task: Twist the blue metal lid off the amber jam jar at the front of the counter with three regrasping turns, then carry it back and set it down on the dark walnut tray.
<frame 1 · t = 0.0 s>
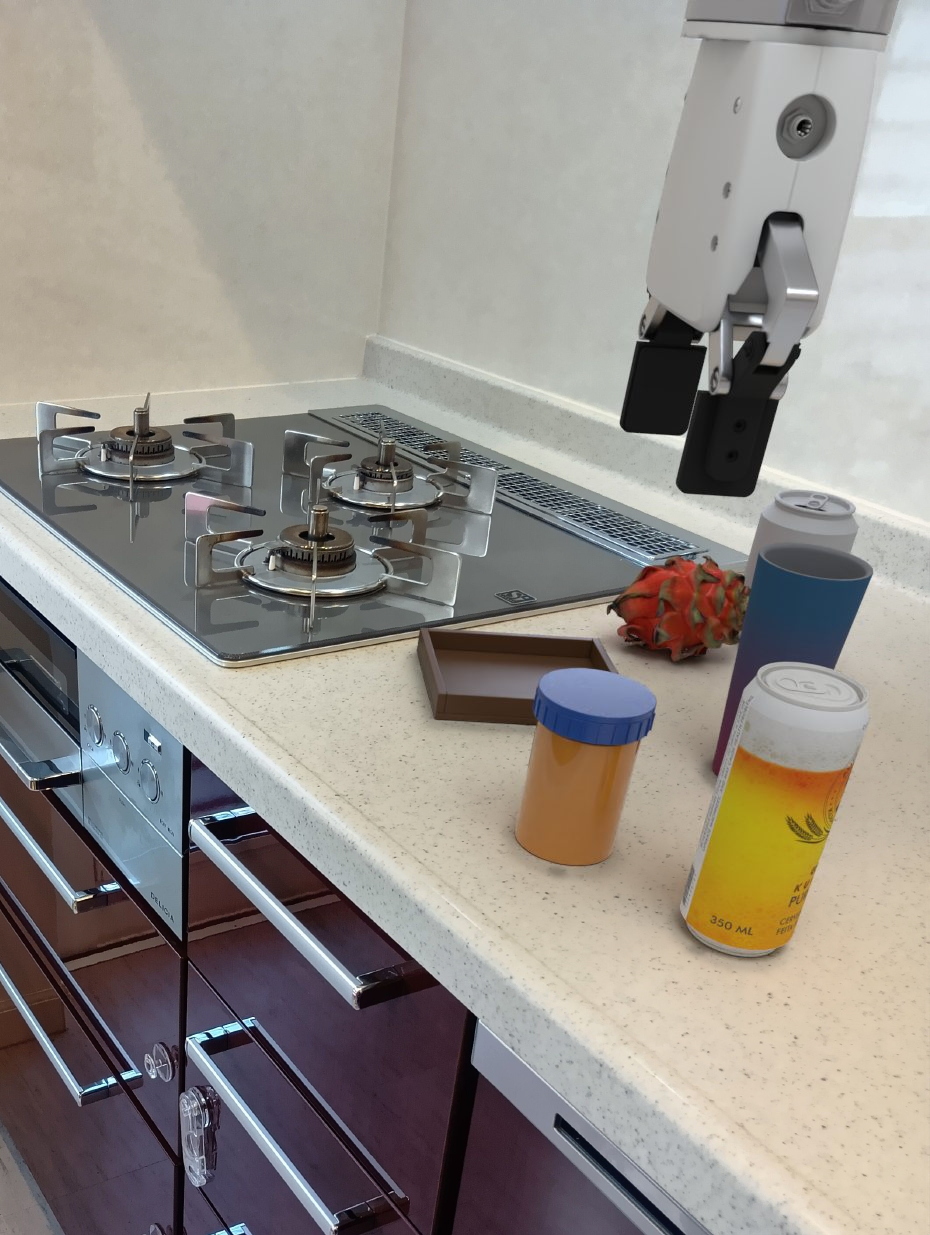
hand: (680, 461, 58), 25 cm above the worktop, tool pointing down, fingers open, 9 cm apart
jar: (563, 839, 80), on the worktop
dragon fruit: (668, 654, 106), on the worktop
can: (772, 642, 110), on the worktop
cup: (748, 776, 89), on the worktop
beer can: (731, 933, 73), on the worktop
lid: (595, 698, 75), point 9 cm above the worktop, screwed on, not yet turned
tray: (518, 688, 98), on the worktop
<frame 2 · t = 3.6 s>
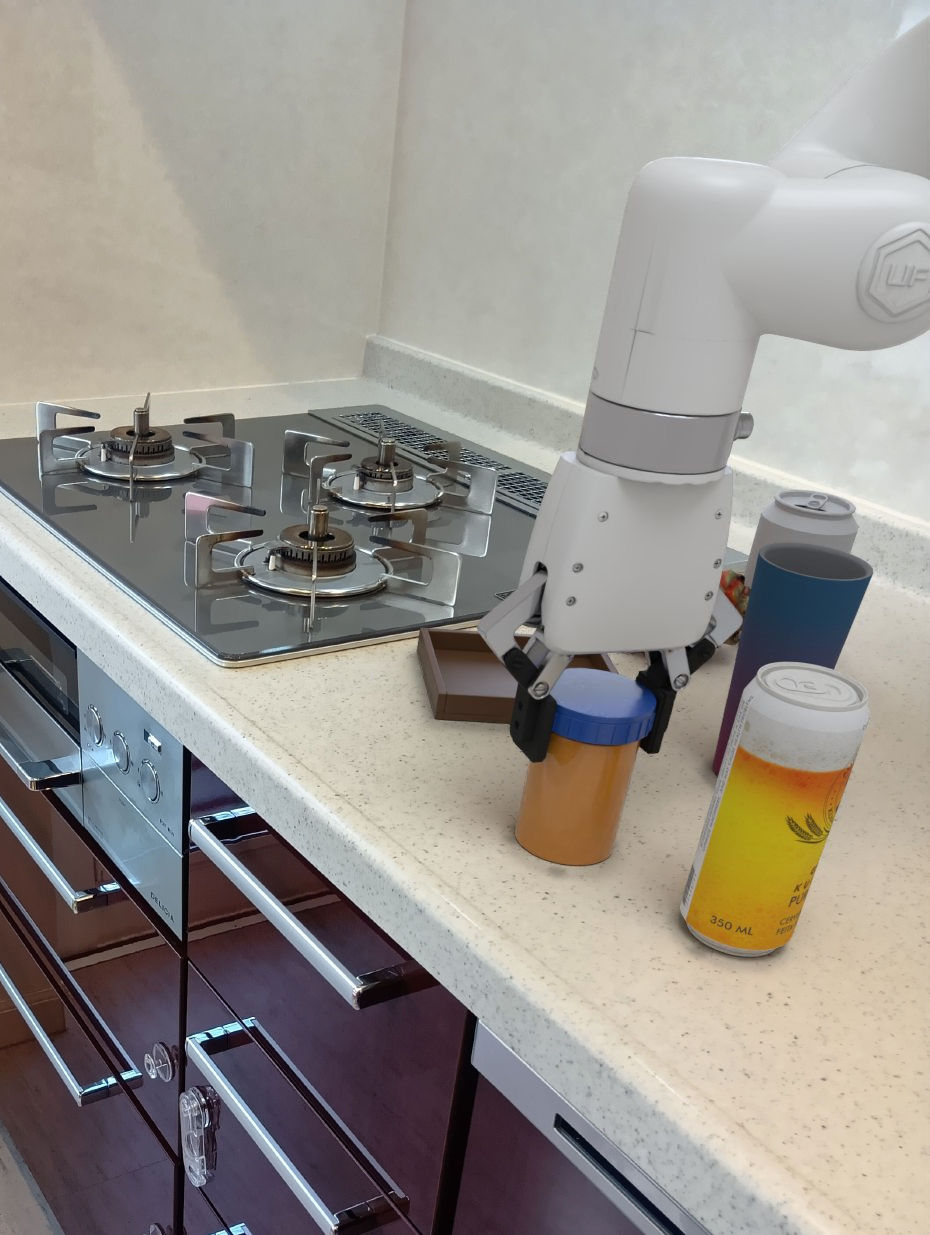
hand: (584, 745, 76), 6 cm above the worktop, tool pointing down, fingers closed on lid, 6 cm apart
lid: (595, 698, 75), point 9 cm above the worktop, screwed on, not yet turned, touching gripper
everything else where it was.
when the fingers open (6 cm above the worktop, at t = 5.7 s): lid stays where it is, point 10 cm above the worktop.
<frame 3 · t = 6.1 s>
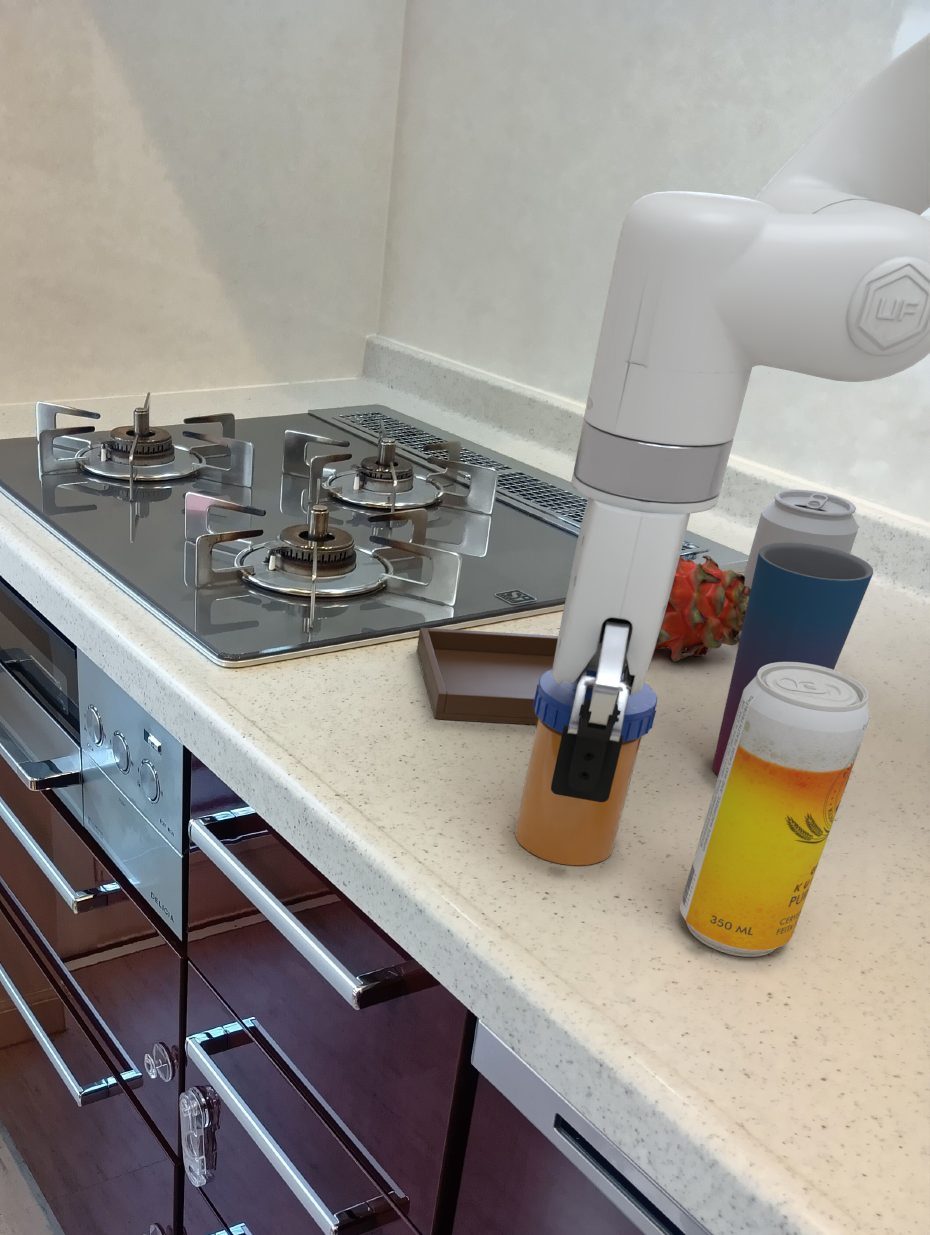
hand: (583, 757, 77), 6 cm above the worktop, tool pointing down, fingers open, 9 cm apart
lid: (596, 695, 75), point 10 cm above the worktop, turned 60° so far, risen 0.2 cm, still on its thread
everything else where it was.
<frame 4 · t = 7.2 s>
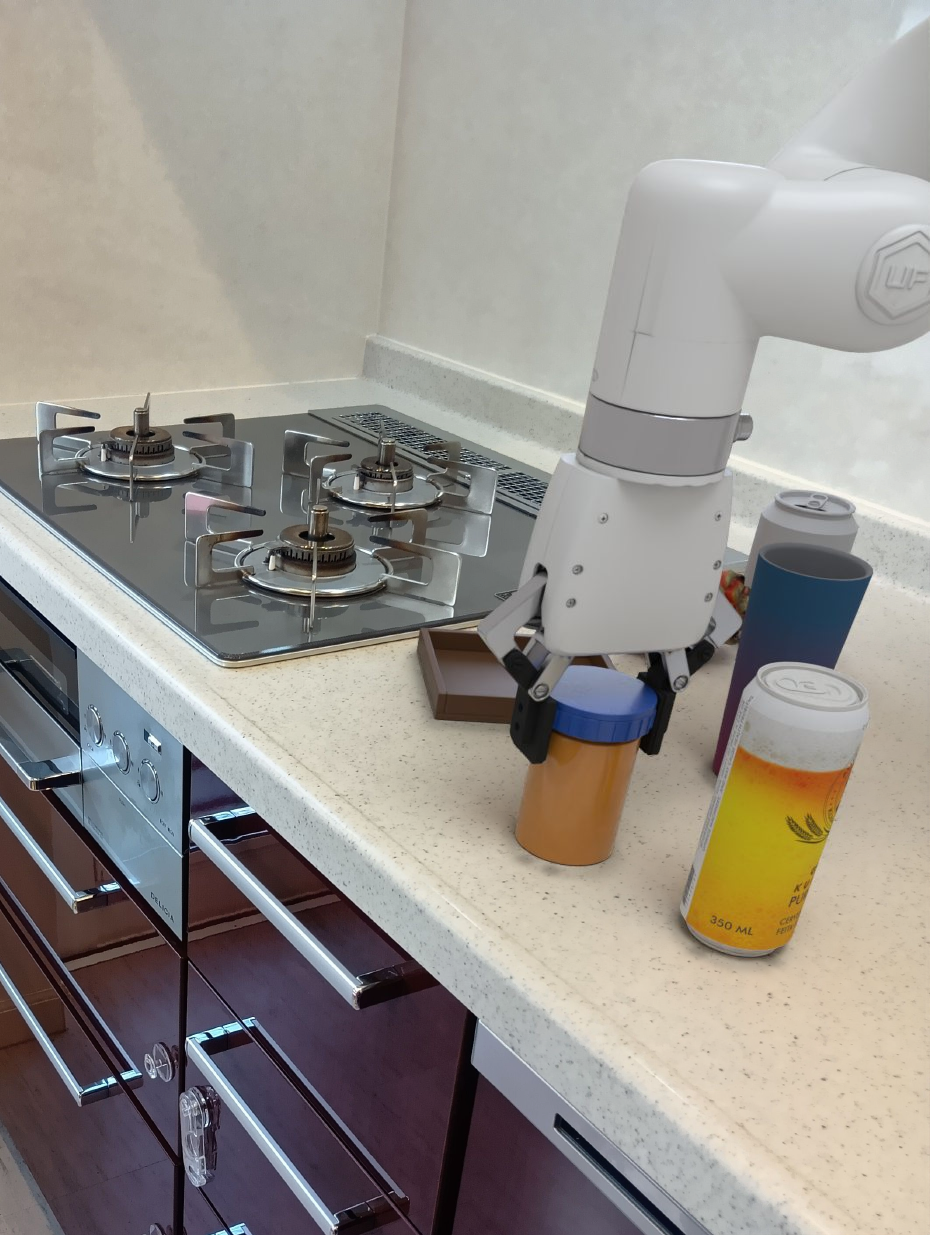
hand: (584, 746, 76), 6 cm above the worktop, tool pointing down, fingers closed on lid, 6 cm apart
lid: (596, 695, 75), point 10 cm above the worktop, turned 60° so far, risen 0.2 cm, still on its thread, touching gripper
everything else where it was.
when the fingers open (6 cm above the worktop, at t = 9.2 s): lid stays where it is, point 10 cm above the worktop.
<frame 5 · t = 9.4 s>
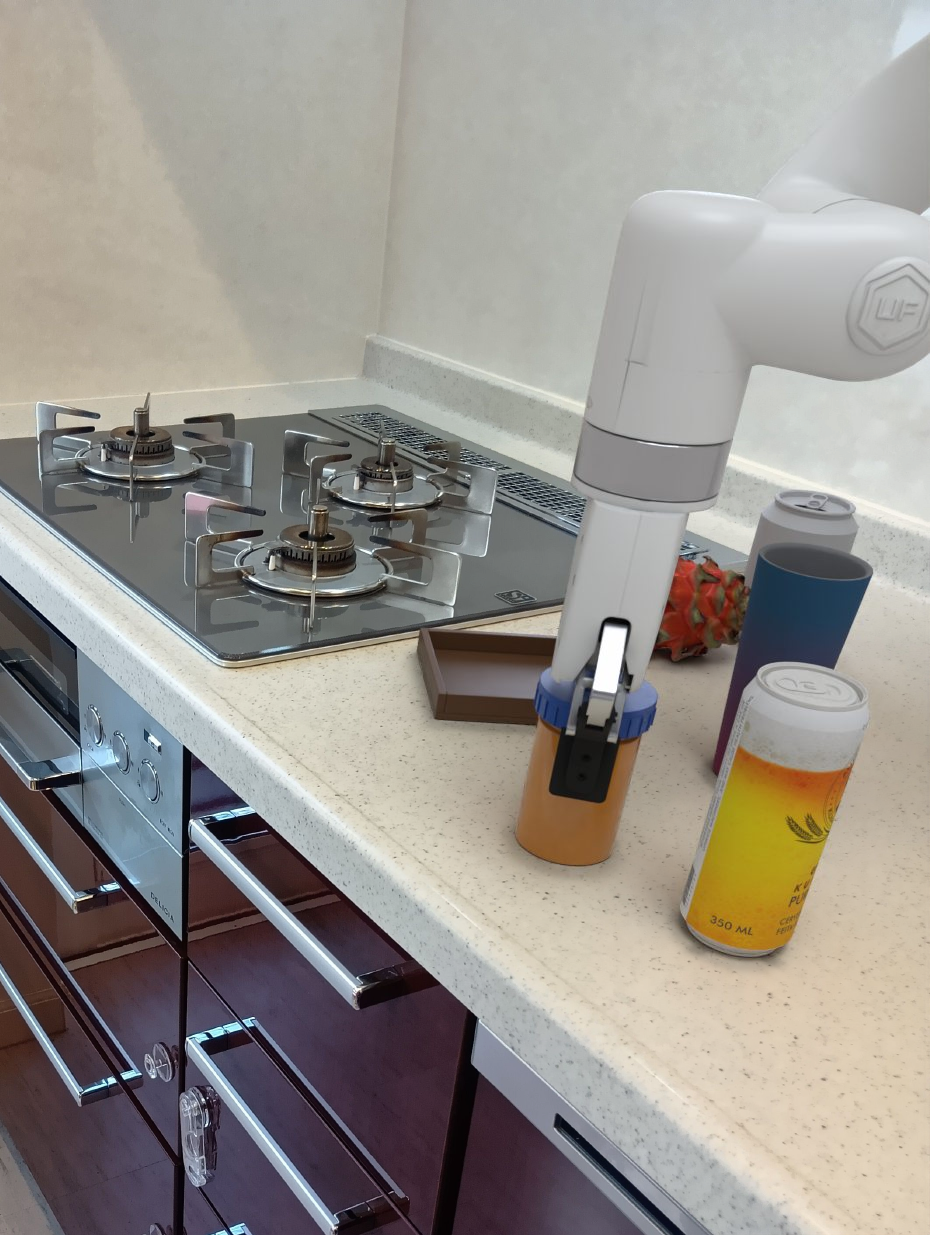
hand: (580, 761, 77), 5 cm above the worktop, tool pointing down, fingers open, 8 cm apart
lid: (597, 693, 75), point 10 cm above the worktop, turned 120° so far, risen 0.3 cm, still on its thread
everything else where it was.
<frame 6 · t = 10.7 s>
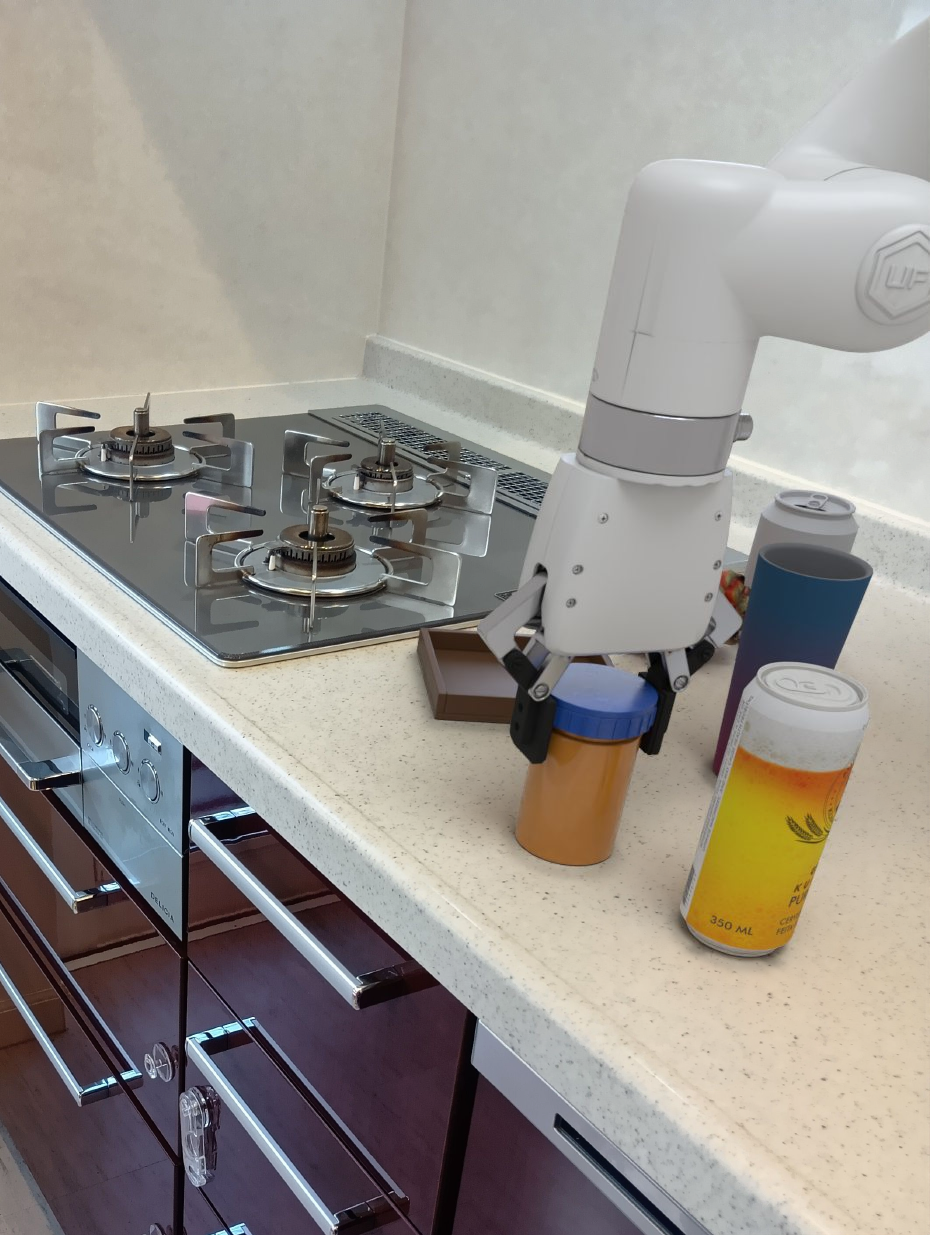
hand: (584, 746, 76), 6 cm above the worktop, tool pointing down, fingers closed on lid, 6 cm apart
lid: (597, 693, 75), point 10 cm above the worktop, turned 120° so far, risen 0.3 cm, still on its thread, touching gripper
everything else where it was.
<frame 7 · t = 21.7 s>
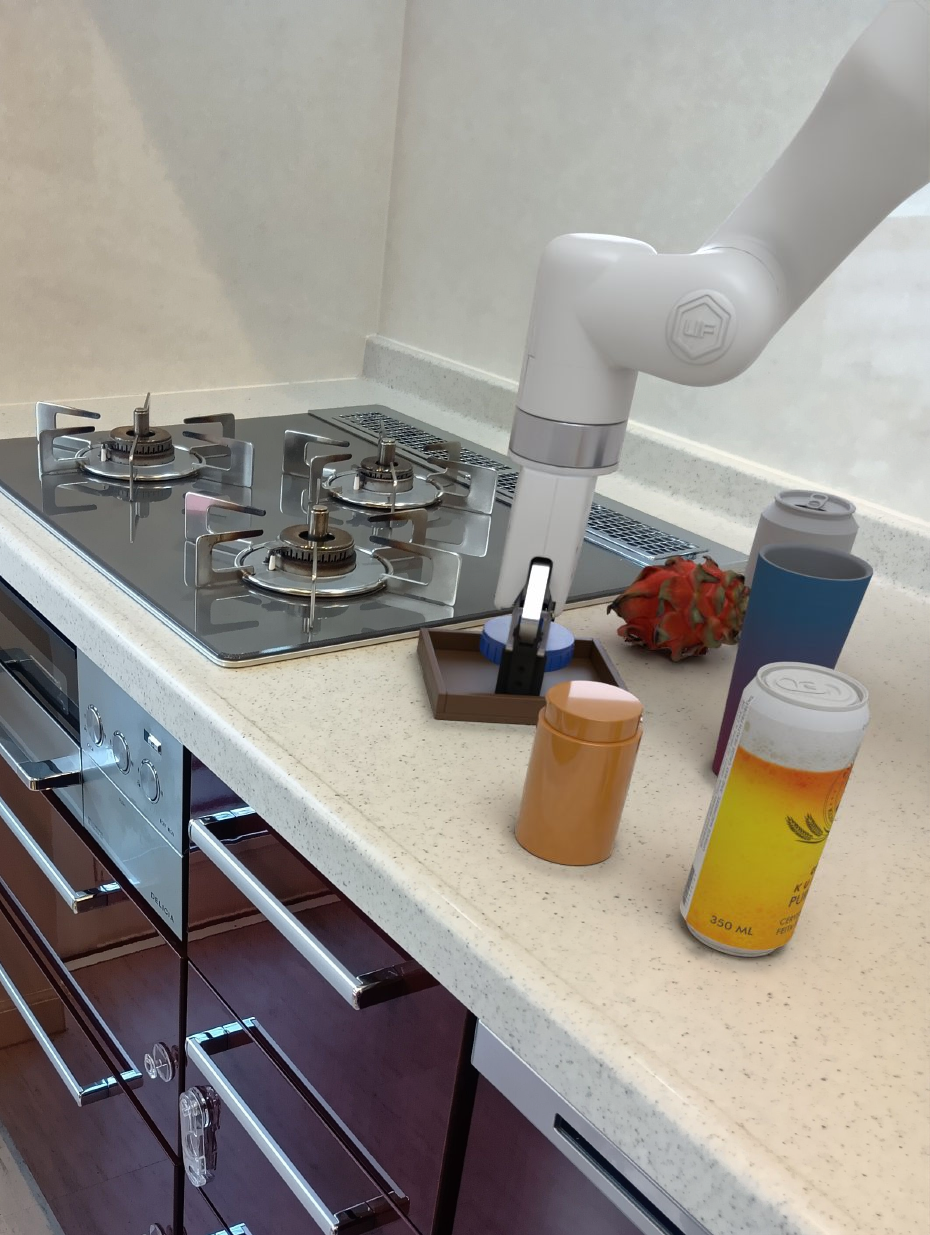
hand: (520, 680, 98), 1 cm above the worktop, tool pointing down, fingers closed on lid, 6 cm apart
lid: (527, 637, 96), point 4 cm above the worktop, off its thread, touching gripper
everything else where it was.
when the fingers open (2 cm above the worktop, at t = 33.9 s): lid drops 4 cm, resting on tray.
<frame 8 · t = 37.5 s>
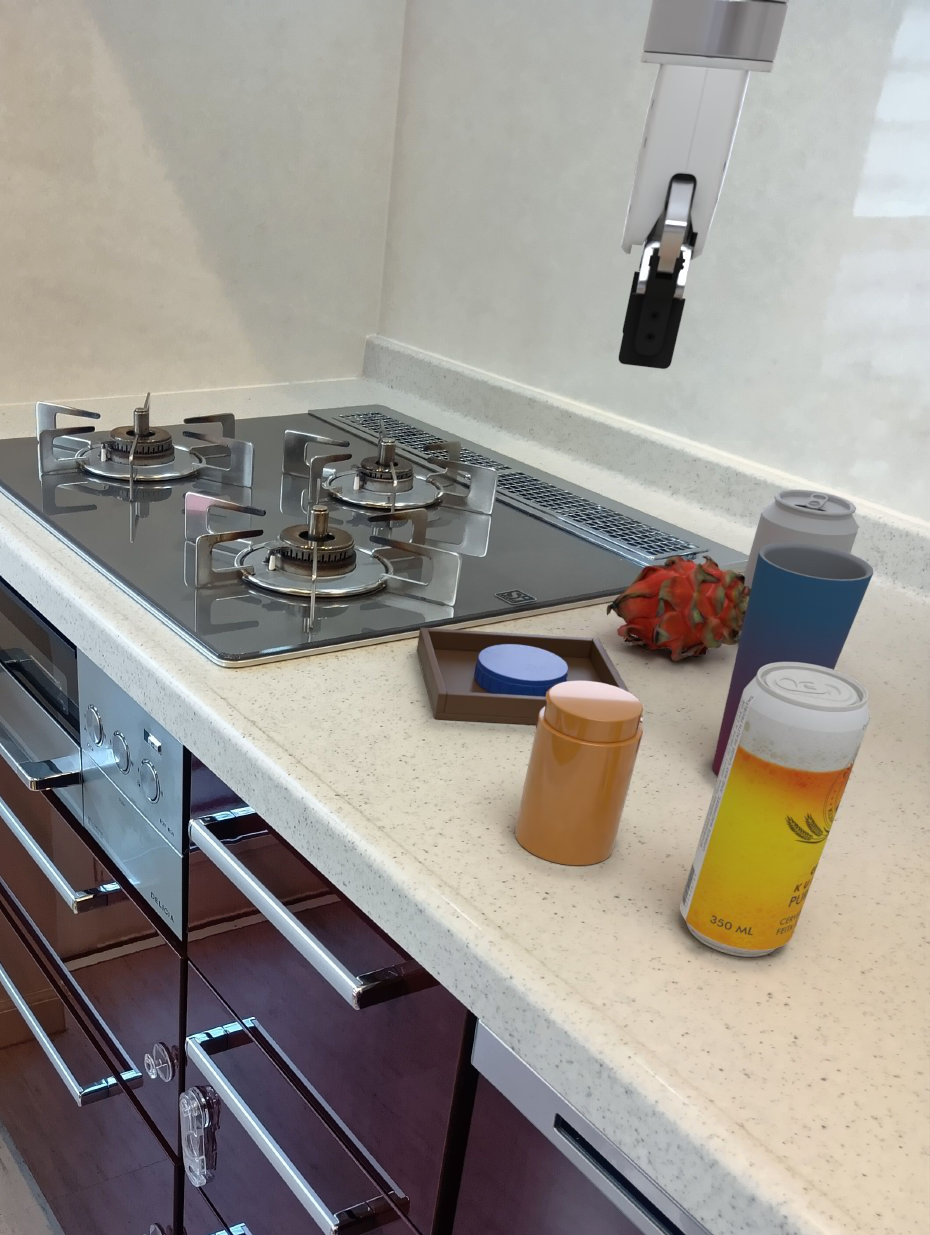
hand: (644, 351, 85), 24 cm above the worktop, tool pointing down, fingers open, 9 cm apart
lid: (522, 666, 97), point 2 cm above the worktop, off its thread, touching tray
everything else where it was.
at the end: lid inside the target area on the tray (0.0 cm from its centre), point 1.8 cm above the tray's base; lid point 1.8 cm above the worktop; the gripper is holding nothing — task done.
